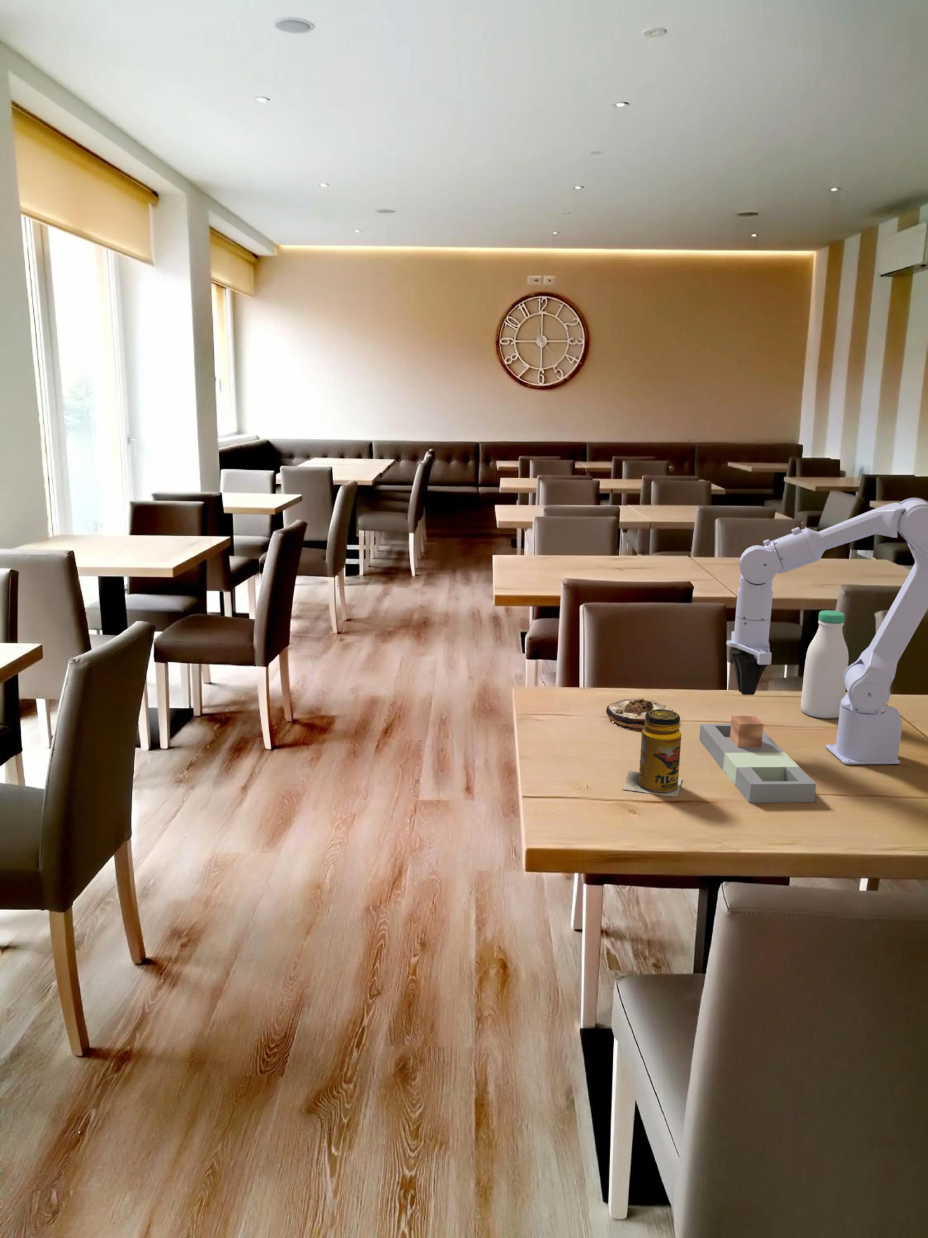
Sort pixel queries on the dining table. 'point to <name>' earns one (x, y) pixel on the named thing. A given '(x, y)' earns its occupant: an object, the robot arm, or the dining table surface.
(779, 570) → the robot arm
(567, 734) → the dining table surface
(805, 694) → the milk bottle
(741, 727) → the block
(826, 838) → the dining table surface
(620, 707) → the plate of food
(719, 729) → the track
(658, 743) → the condiment
